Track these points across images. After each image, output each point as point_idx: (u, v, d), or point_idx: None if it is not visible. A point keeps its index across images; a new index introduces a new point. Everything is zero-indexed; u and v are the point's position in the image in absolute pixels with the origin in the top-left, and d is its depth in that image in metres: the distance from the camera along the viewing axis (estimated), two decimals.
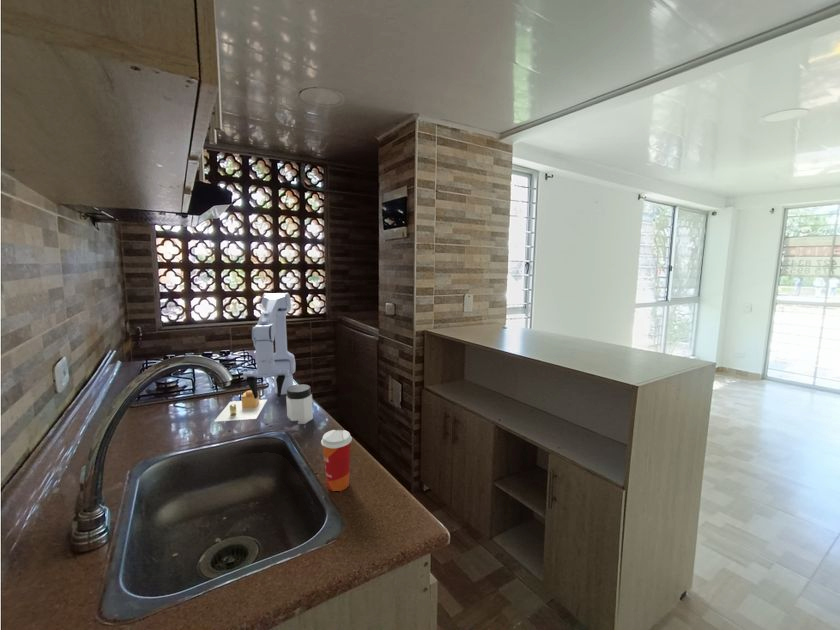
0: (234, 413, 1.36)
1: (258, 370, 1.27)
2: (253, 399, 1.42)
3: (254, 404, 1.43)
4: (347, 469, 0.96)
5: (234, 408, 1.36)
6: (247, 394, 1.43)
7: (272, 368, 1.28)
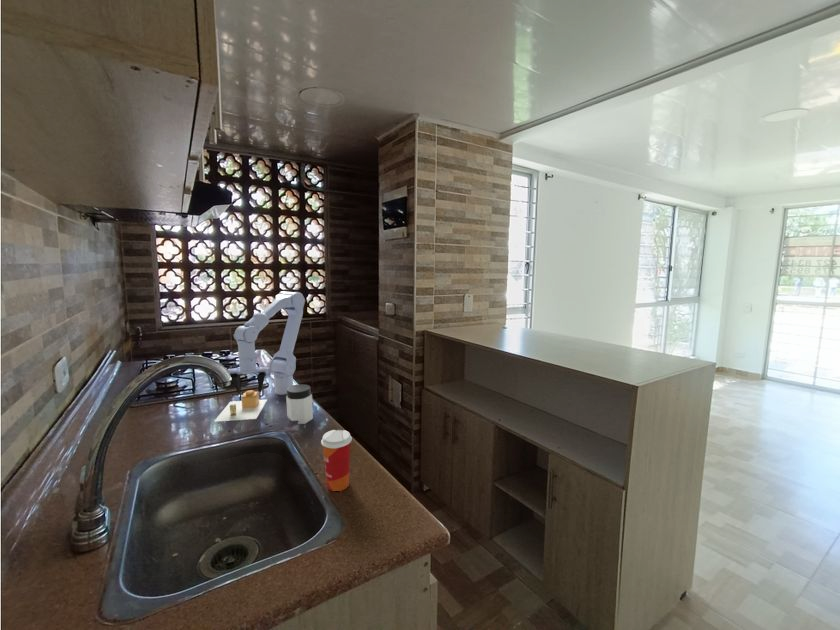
0: (234, 413, 1.36)
1: (240, 367, 1.40)
2: (253, 399, 1.42)
3: (254, 404, 1.43)
4: (347, 469, 0.96)
5: (234, 408, 1.36)
6: (247, 394, 1.43)
7: (253, 366, 1.41)
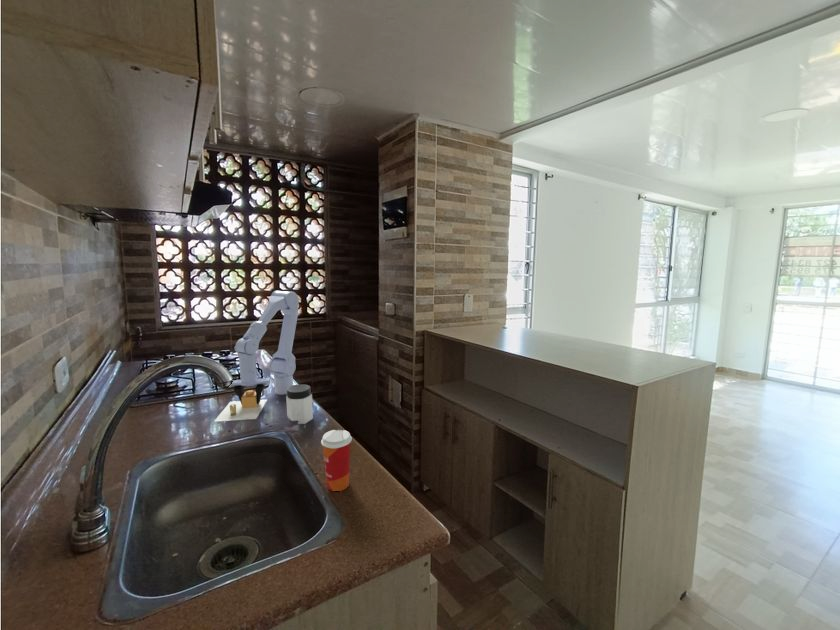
0: (234, 413, 1.36)
1: (241, 379, 1.41)
2: (253, 399, 1.42)
3: (254, 404, 1.43)
4: (347, 469, 0.96)
5: (234, 408, 1.36)
6: (247, 394, 1.43)
7: (254, 377, 1.42)
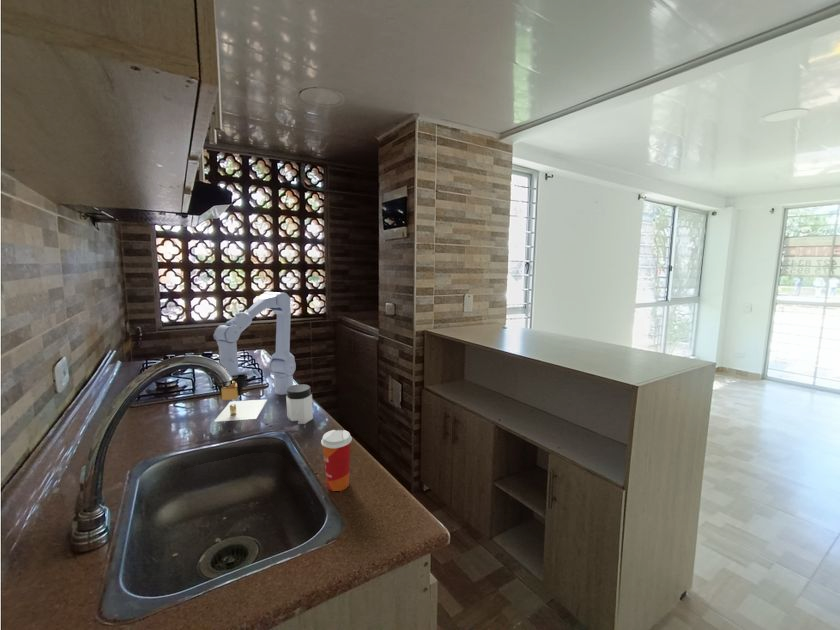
0: (234, 413, 1.36)
1: None
2: (234, 390, 1.33)
3: (235, 396, 1.33)
4: (347, 469, 0.96)
5: (234, 408, 1.36)
6: None
7: (235, 367, 1.33)
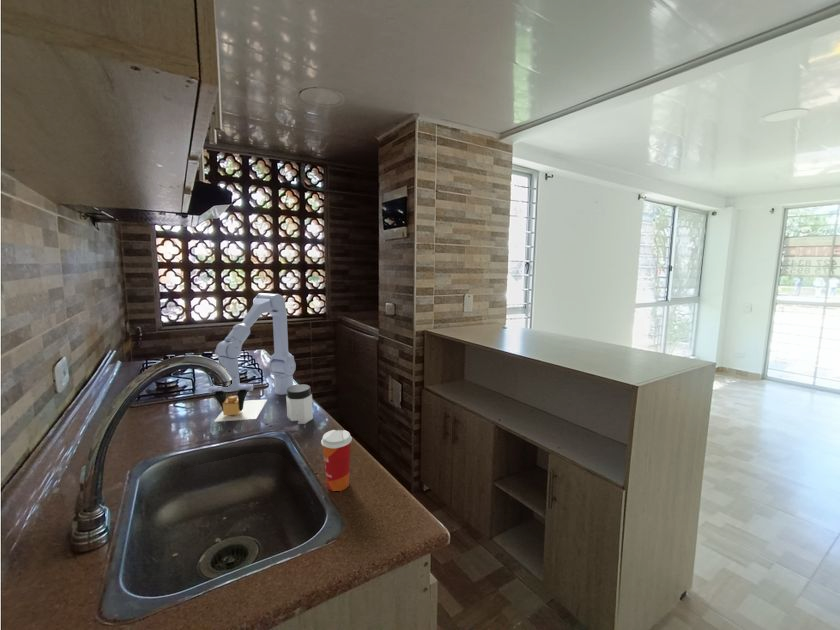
0: None
1: None
2: (235, 406, 1.34)
3: (236, 411, 1.34)
4: (347, 469, 0.96)
5: None
6: (229, 400, 1.34)
7: (236, 383, 1.34)
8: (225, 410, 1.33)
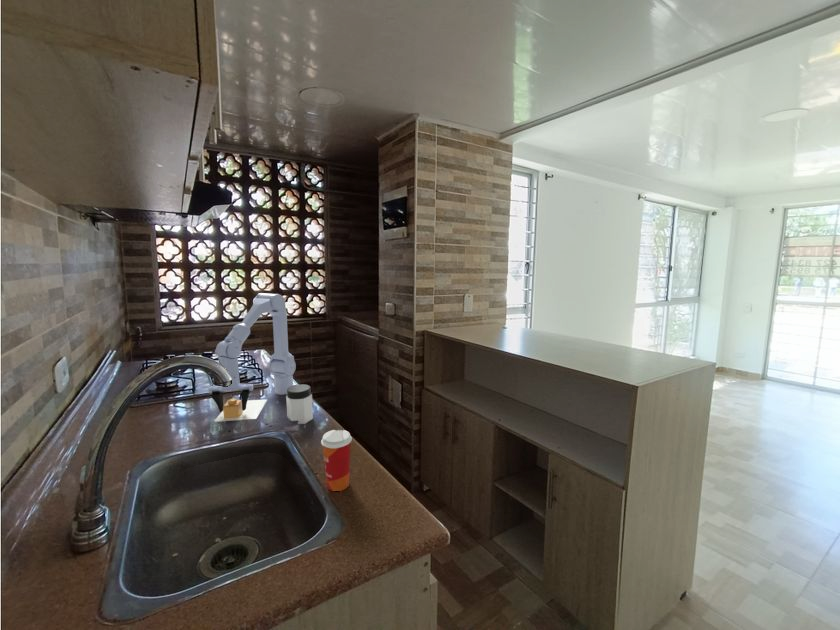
0: None
1: None
2: (236, 408, 1.34)
3: (237, 414, 1.34)
4: (347, 469, 0.96)
5: None
6: (229, 403, 1.34)
7: (236, 383, 1.34)
8: (225, 413, 1.34)
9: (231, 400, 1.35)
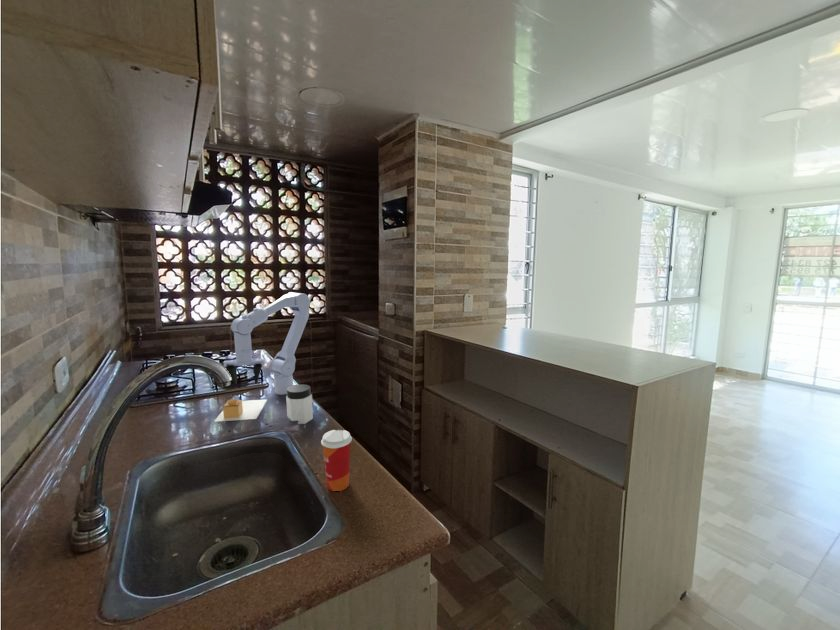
0: None
1: (237, 359, 1.42)
2: (236, 408, 1.34)
3: (237, 414, 1.34)
4: (347, 469, 0.96)
5: None
6: (229, 403, 1.34)
7: (249, 357, 1.44)
8: (225, 413, 1.34)
9: (231, 400, 1.35)
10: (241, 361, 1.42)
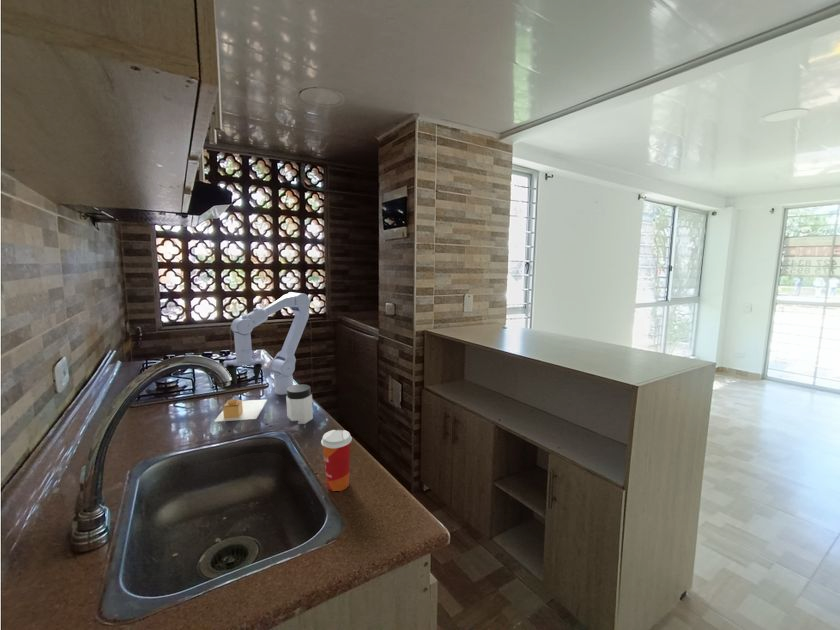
0: None
1: (237, 359, 1.42)
2: (236, 408, 1.34)
3: (237, 414, 1.34)
4: (347, 469, 0.96)
5: None
6: (229, 403, 1.34)
7: (249, 357, 1.44)
8: (225, 413, 1.34)
9: (231, 400, 1.35)
10: (241, 361, 1.42)
